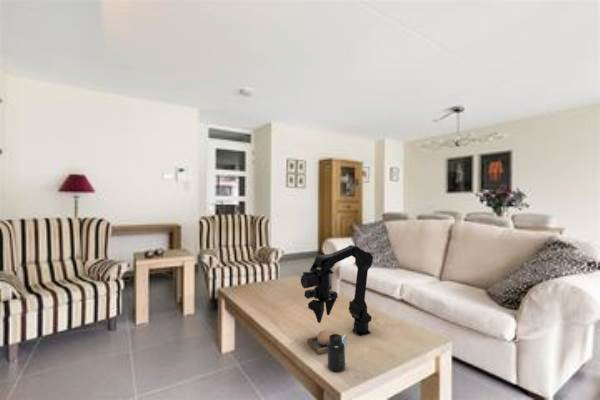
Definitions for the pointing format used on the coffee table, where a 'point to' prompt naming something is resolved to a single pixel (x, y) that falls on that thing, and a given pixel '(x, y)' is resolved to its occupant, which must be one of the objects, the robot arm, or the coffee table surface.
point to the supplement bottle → (336, 353)
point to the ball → (323, 337)
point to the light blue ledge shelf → (344, 340)
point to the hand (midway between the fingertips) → (323, 318)
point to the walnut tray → (317, 345)
